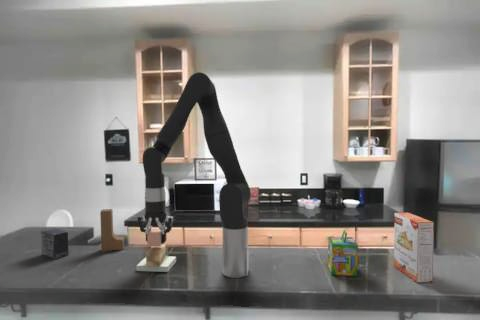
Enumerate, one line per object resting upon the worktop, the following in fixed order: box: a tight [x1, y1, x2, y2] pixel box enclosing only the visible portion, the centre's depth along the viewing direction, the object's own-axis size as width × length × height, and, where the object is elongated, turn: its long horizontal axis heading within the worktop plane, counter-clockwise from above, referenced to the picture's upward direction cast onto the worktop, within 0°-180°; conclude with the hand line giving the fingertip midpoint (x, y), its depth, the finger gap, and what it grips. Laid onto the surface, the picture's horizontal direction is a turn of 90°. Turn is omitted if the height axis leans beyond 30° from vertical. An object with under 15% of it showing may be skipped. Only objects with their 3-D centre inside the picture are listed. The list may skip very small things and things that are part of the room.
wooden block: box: [99, 208, 125, 252], centre depth 135 cm, size 9×4×18 cm, turn 106°
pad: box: [136, 255, 177, 273], centre depth 116 cm, size 12×11×2 cm
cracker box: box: [393, 212, 435, 283], centre depth 107 cm, size 14×6×21 cm, turn 3°
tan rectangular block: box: [145, 243, 167, 266], centre depth 115 cm, size 5×9×5 cm, turn 179°
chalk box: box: [327, 230, 359, 277], centre depth 110 cm, size 9×9×15 cm
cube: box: [146, 228, 162, 247], centre depth 115 cm, size 5×5×5 cm
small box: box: [40, 228, 70, 260], centre depth 128 cm, size 11×6×10 cm, turn 58°
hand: (156, 242), depth 115 cm, fingers closed on cube, 5 cm apart
